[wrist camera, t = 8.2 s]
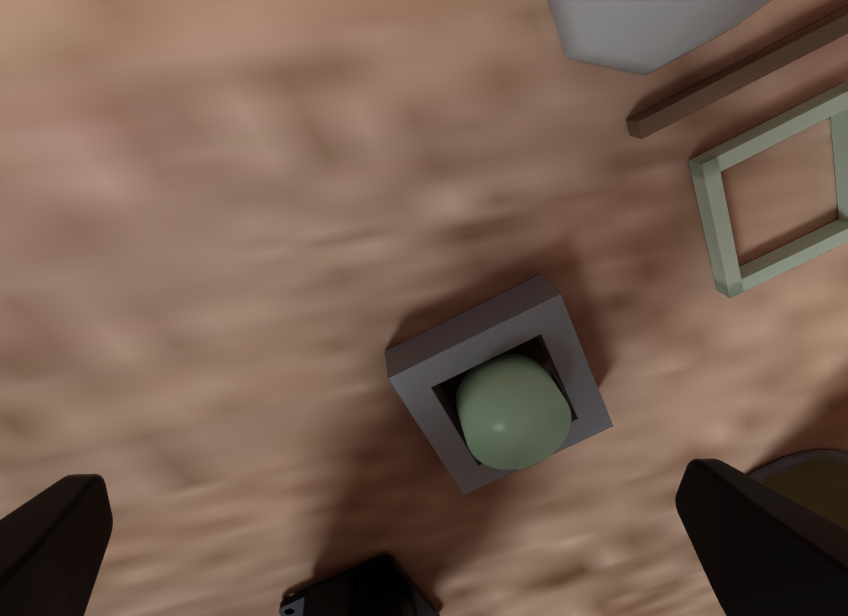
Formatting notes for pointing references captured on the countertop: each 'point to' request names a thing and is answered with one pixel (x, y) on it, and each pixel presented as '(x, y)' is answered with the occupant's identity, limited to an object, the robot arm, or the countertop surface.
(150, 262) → the countertop surface
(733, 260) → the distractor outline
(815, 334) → the countertop surface
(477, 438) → the button
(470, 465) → the button housing
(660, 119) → the outline
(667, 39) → the flask
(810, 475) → the canister
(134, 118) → the countertop surface
